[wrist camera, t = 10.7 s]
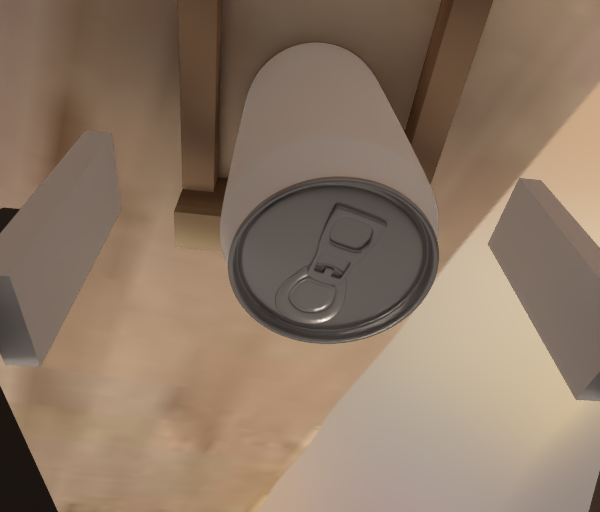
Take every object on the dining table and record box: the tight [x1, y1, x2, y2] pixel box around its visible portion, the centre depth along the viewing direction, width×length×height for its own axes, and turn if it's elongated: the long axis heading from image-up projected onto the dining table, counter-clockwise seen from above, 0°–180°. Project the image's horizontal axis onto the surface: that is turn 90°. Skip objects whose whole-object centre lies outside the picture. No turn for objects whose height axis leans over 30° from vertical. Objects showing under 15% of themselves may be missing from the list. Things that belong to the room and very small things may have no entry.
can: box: [220, 43, 439, 344], centre depth 17 cm, size 6×6×12 cm
